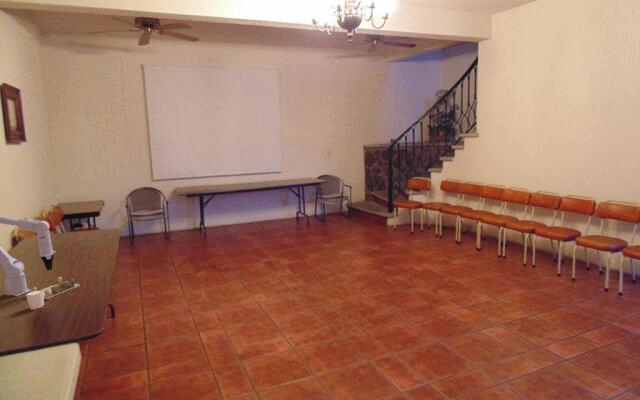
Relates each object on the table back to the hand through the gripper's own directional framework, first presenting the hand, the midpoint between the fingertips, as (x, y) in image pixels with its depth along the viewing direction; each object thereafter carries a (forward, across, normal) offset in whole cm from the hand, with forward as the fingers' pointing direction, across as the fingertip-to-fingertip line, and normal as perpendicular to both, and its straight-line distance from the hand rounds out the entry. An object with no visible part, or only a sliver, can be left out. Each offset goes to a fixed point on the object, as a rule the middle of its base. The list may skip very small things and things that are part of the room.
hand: (49, 269), depth 231 cm
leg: (+8, -13, -4) cm, 15 cm away
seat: (+10, -8, 0) cm, 13 cm away
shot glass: (+10, -25, +10) cm, 29 cm away
